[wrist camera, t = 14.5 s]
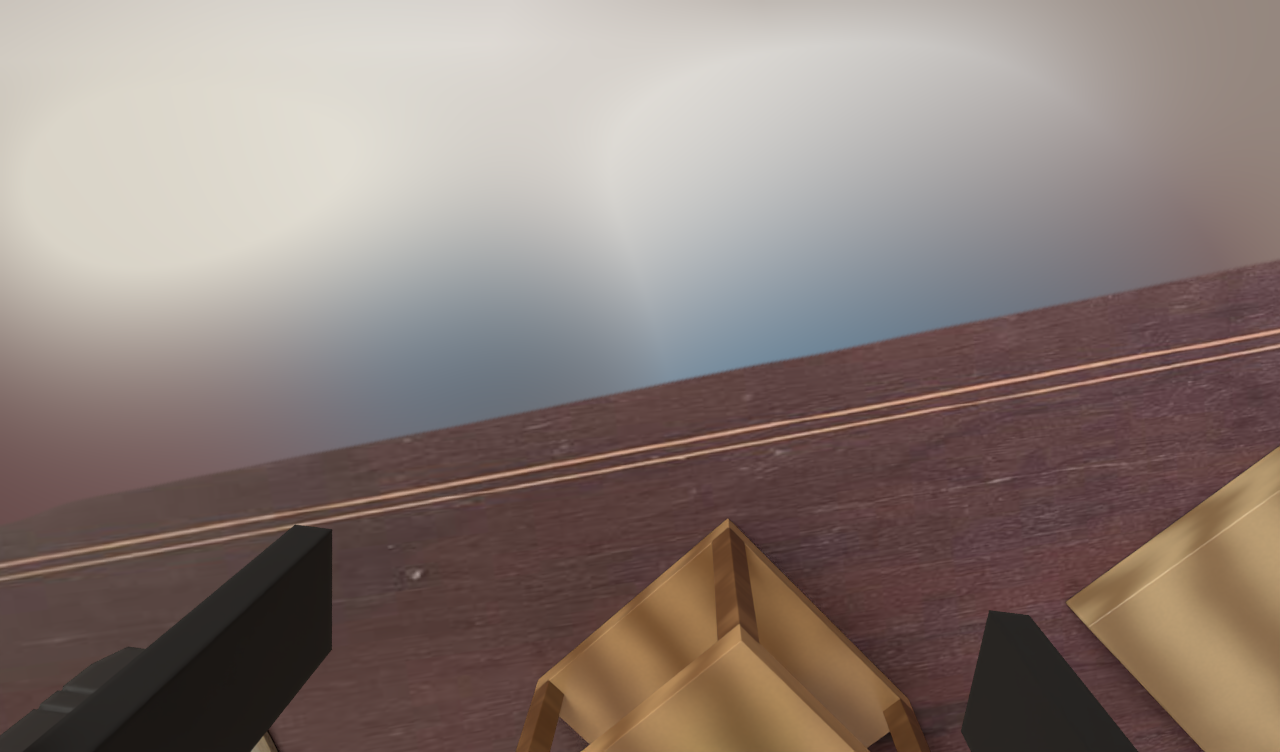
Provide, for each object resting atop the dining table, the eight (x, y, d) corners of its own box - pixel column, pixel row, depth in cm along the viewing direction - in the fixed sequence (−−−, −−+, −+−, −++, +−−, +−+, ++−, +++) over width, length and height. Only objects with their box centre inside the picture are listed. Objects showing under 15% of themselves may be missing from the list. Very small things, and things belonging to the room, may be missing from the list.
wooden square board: (1284, 441, 46) (1324, 458, 43) (1435, 618, 48) (1483, 645, 45) (1064, 601, 49) (1088, 627, 46) (1213, 761, 51) (1245, 795, 48)
